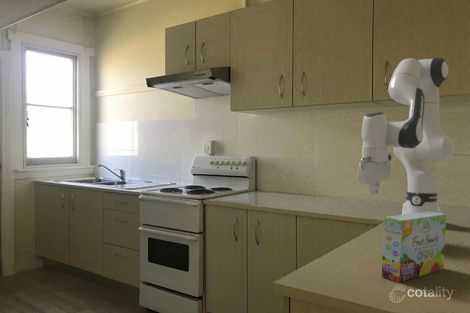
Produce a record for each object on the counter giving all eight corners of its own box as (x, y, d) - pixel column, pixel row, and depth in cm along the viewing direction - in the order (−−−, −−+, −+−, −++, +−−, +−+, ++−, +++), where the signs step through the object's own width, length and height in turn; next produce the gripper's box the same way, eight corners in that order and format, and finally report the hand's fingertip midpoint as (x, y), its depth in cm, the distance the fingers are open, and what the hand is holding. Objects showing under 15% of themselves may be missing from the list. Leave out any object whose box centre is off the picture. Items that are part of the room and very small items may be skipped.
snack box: (402, 284, 89) (403, 219, 89) (380, 277, 93) (381, 216, 93) (445, 269, 101) (447, 212, 101) (424, 264, 106) (426, 210, 106)
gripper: (370, 157, 129) (370, 197, 130) (393, 155, 144) (393, 192, 145) (353, 157, 134) (353, 196, 134) (377, 155, 149) (377, 190, 149)
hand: (374, 194), depth 140 cm, fingers closed
